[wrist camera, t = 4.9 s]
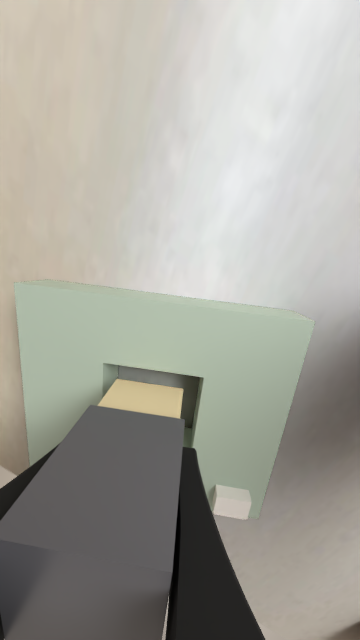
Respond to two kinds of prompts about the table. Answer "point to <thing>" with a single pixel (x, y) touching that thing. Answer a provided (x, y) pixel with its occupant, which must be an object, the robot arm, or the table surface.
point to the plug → (98, 525)
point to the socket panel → (167, 356)
